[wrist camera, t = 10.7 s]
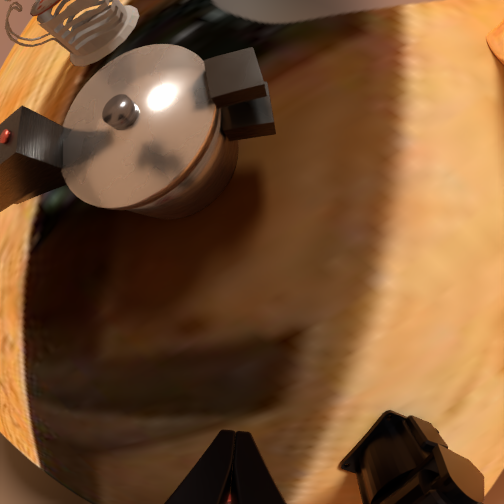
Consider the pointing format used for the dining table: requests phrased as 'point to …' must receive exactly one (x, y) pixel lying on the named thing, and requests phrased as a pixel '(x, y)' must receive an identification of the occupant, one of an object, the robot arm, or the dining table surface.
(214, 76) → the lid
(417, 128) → the dining table surface
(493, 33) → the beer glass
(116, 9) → the french press
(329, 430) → the dining table surface
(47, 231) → the dining table surface
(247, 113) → the pot
